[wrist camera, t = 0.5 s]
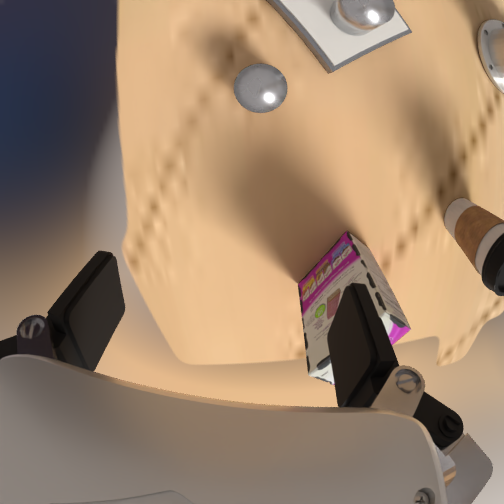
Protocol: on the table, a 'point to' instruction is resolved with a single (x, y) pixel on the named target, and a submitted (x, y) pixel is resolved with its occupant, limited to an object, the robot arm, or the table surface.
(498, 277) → the coffee cup
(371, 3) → the cylinder
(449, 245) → the table surface
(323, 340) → the candy bar box
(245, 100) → the cylinder
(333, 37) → the scale
